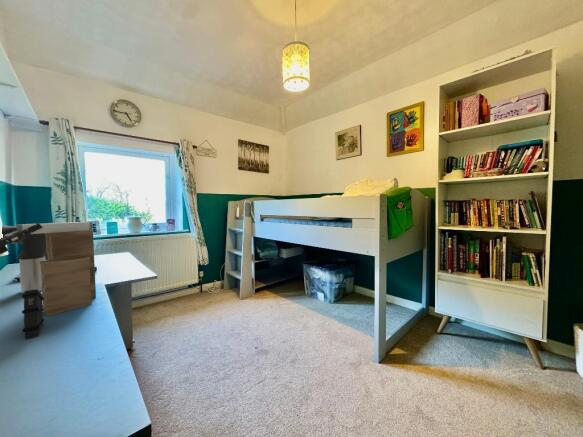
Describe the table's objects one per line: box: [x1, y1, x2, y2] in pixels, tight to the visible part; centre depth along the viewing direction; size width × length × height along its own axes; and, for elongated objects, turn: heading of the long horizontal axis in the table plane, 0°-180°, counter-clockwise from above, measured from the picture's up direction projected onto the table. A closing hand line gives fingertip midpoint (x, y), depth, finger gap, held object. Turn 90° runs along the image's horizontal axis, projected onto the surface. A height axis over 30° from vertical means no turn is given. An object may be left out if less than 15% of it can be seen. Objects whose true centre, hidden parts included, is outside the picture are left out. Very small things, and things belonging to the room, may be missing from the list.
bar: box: [15, 221, 94, 234], centre depth 108 cm, size 4×24×4 cm, turn 144°
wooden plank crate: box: [40, 229, 97, 317], centre depth 108 cm, size 21×18×32 cm
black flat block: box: [21, 289, 45, 340], centre depth 84 cm, size 4×13×15 cm, turn 40°
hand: (39, 225), depth 104 cm, fingers closed on bar, 4 cm apart
